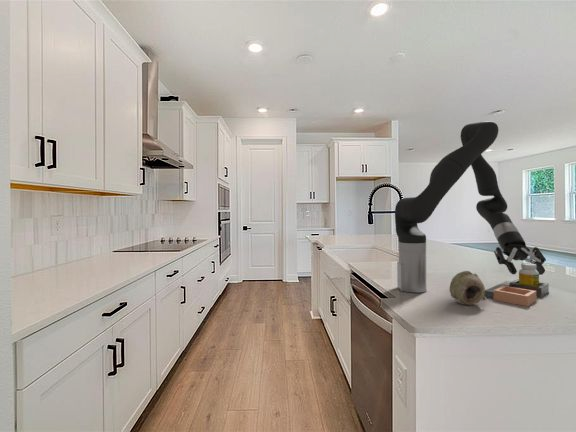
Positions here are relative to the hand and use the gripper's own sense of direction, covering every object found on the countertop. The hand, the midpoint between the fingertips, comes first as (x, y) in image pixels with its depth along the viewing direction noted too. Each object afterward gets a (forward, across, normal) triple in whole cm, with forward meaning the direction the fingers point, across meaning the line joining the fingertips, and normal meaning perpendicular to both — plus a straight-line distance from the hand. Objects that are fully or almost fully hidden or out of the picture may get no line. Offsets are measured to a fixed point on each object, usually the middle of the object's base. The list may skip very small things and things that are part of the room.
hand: (528, 273), depth 101 cm
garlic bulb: (+15, -26, -6) cm, 31 cm away
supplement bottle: (+5, 0, +4) cm, 7 cm away
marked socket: (+12, -10, -3) cm, 16 cm away
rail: (+7, -6, +2) cm, 9 cm away
